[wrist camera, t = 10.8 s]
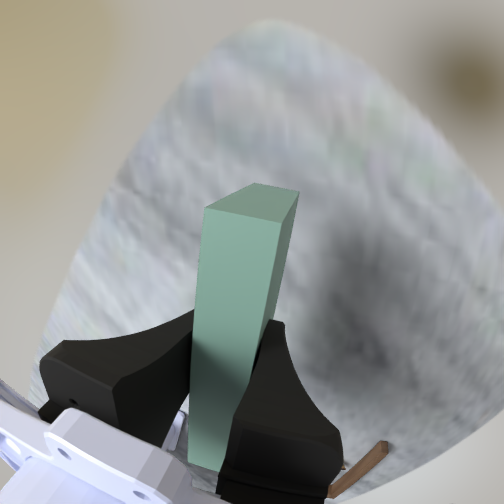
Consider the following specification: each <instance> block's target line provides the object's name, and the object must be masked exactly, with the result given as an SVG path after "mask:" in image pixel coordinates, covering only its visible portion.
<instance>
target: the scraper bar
mask: <svg viewBox="0 0 504 504" xmlns="http://www.w3.org/2000/svg"><path fill="white" fill-rule="evenodd" d="M298 197H299V192H298V191H293V190H288V189H284V188H279V187H273V186H268V185H263V184H258V183H253V184H251V185H249V186H247V187H245V188H243V189H241V190H239V191H237V192H235V193H233V194H231V195H229V196H227V197H225V198H223V199H221V200H219V201H217V202H215V203H213V204H211V205H209V206H207V207H205V209H204V217H203V226H202V235H201V245H200V255H199V265H198V275H197V286H196V298H195V310H194V324H193V338H192V354H191V371H190V392H189V418H188V462H189V463H192V464H195V465H198V466H201V467H204V468H207V469H210V470H213V471H217V472H219V471H220V469H221V466H222V464H223V461H224V458H225V454H226V449H227V444H228V439H229V434H230V429H231V424H232V419H233V415H234V413H235V411H236V409H237V407H238V405H239V403H240V401H241V399H242V397H243V395H244V393H245V391H246V388H247V386H248V384H249V381H250V379H251V377H252V374H253V372H254V369H255V367H256V364H257V360H258V355H259V351H260V346H261V342H262V337H263V333H264V330H265V328H266V325H267V323H268V321H269V319H272V320H273V317H274V313H275V308H276V304H277V299H278V294H279V290H280V285H281V281H282V276H283V271H284V267H285V262H286V257H287V252H288V247H289V243H290V238H291V233H292V228H293V223H294V218H295V213H296V208H297V202H298Z"/></svg>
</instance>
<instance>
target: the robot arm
mask: <svg viewBox="0 0 504 504" xmlns="http://www.w3.org/2000/svg"><path fill="white" fill-rule="evenodd" d="M194 310H195V309H193V310H191V311H190V312H188V313H186V314H184V315H182V316H180V317H178V318H176V319H173V320H171V321H169V322H166V323H164V324H162V325H159V326H157V327H154V328H151V329H148V330H145V331H142V332H138V333H135V334H131V335H126V336H121V337H116V338H109V339H100V340H63V341H62V342H61V343H59V344H58V345H57V346H56V347H54V348H53V349H52V350H51V351H50V352H48V353H47V354H46V355H45V356H44V357H42V359H41V360H40V366H39V368H40V373H41V377H42V380H43V383H44V386H45V388H46V391H47V394H48V397H49V400H48V401H47V402H46V403H45V404H44V405H43V406H42V407H41V408H40V409H39V408H37V407H36V406H35V405H33V404H32V403H30V402H29V401H28V400H26V399H25V398H24V397H22V396H21V395H20V394H19V393H17V392H16V391H15V390H13V389H12V388H11V387H10V386H8V385H7V384H6V383H5V382H4V381H2V380H1V379H0V457H1V458H2V459H3V460H4V461H5V462H6V463H7V464H8V465H9V466H10V467H12V468H13V469H14V470H15V471H16V473H15V474H14V476H13V477H12V478H11V479H10V480H9V481H8V482H7V484H6V485H5V486H4V487H3V488H2V490H1V491H0V504H324V499H326V498H327V496H328V488H329V485H330V484H331V483H332V481H333V480H334V479H335V478H336V476H337V475H338V474H339V472H340V471H341V469H342V467H343V447H342V441H341V436H340V432H339V430H338V429H337V428H336V427H335V426H334V425H333V424H332V423H331V422H330V421H329V420H328V419H327V418H326V417H325V416H324V415H323V414H322V413H321V412H320V411H319V409H318V408H317V407H316V406H315V404H314V403H313V401H312V400H311V398H310V397H309V395H308V394H307V392H306V391H305V389H304V387H303V385H302V384H301V382H300V380H299V378H298V376H297V373H296V371H295V369H294V366H293V363H292V360H291V357H290V354H289V350H288V347H287V342H286V337H285V324H284V323H283V322H280V321H276V320H272V319H269V321H268V323H267V325H266V328H265V330H264V333H263V337H262V342H261V346H260V351H259V355H258V360H257V364H256V367H255V369H254V372H253V374H252V377H251V379H250V381H249V384H248V386H247V388H246V391H245V393H244V395H243V397H242V399H241V401H240V403H239V405H238V407H237V409H236V411H235V413H234V415H233V419H232V424H231V429H230V434H229V439H228V444H227V449H226V454H225V458H224V461H223V464H222V466H221V469H220V471H219V474H218V482H217V487H216V493H215V494H214V493H211V492H208V491H205V490H201V489H198V488H195V487H192V477H191V475H190V473H189V471H188V469H187V467H186V465H184V464H183V463H182V462H181V461H180V460H178V459H177V458H176V457H175V456H174V455H172V454H170V453H168V452H166V450H167V449H169V450H172V451H174V450H175V448H176V445H177V441H178V438H179V435H180V431H181V428H182V424H183V421H184V417H185V415H184V414H183V413H182V412H180V411H179V409H180V407H181V405H182V404H183V402H184V400H185V399H186V397H187V395H188V394H189V392H190V371H191V354H192V338H193V324H194Z"/></svg>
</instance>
